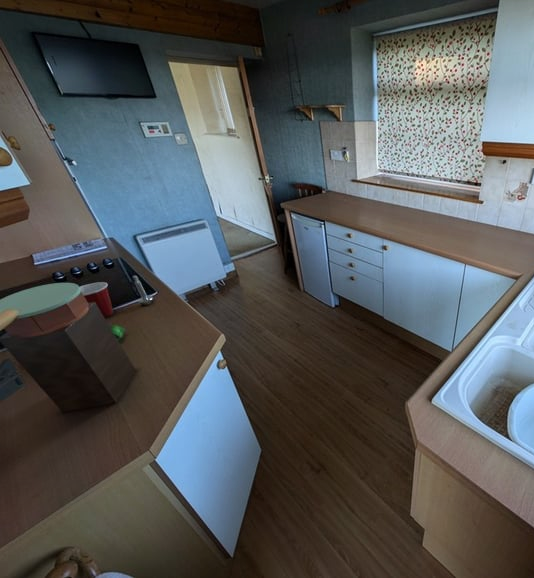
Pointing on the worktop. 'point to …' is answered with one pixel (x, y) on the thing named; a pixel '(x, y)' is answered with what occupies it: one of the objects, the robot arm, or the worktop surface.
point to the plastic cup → (98, 296)
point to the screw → (142, 292)
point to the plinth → (71, 355)
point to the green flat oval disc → (36, 301)
